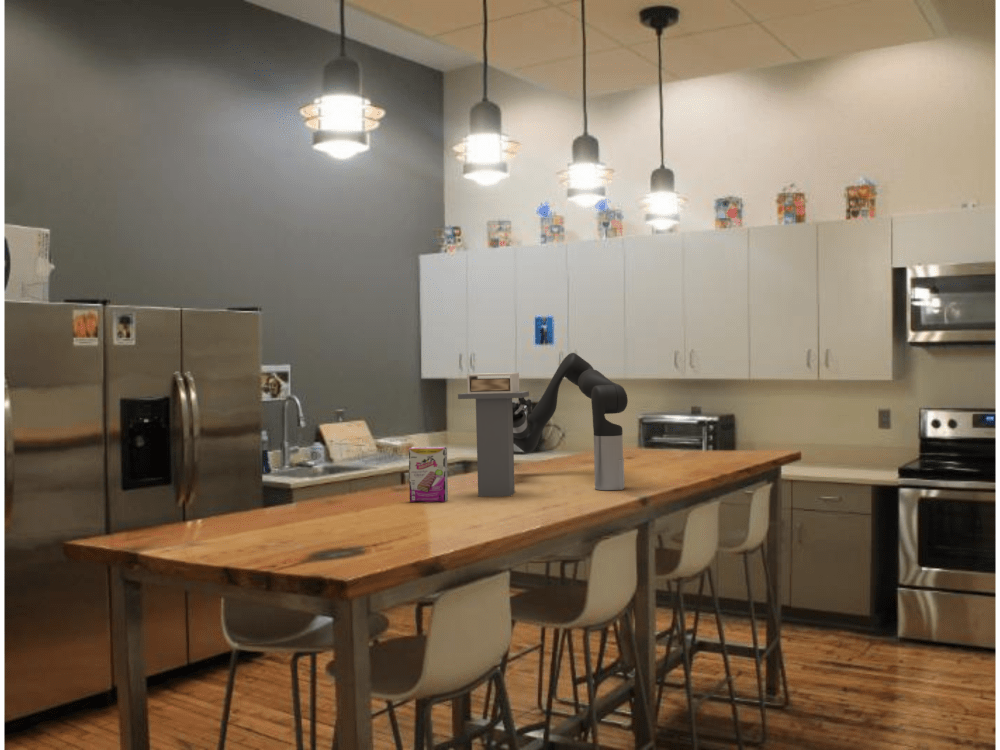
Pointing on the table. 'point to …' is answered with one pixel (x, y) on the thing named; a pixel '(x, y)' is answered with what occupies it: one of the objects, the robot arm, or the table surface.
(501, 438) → the charcoal pedestal
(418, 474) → the candy bar box
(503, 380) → the mailer tray
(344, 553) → the table surface
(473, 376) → the sleeve
